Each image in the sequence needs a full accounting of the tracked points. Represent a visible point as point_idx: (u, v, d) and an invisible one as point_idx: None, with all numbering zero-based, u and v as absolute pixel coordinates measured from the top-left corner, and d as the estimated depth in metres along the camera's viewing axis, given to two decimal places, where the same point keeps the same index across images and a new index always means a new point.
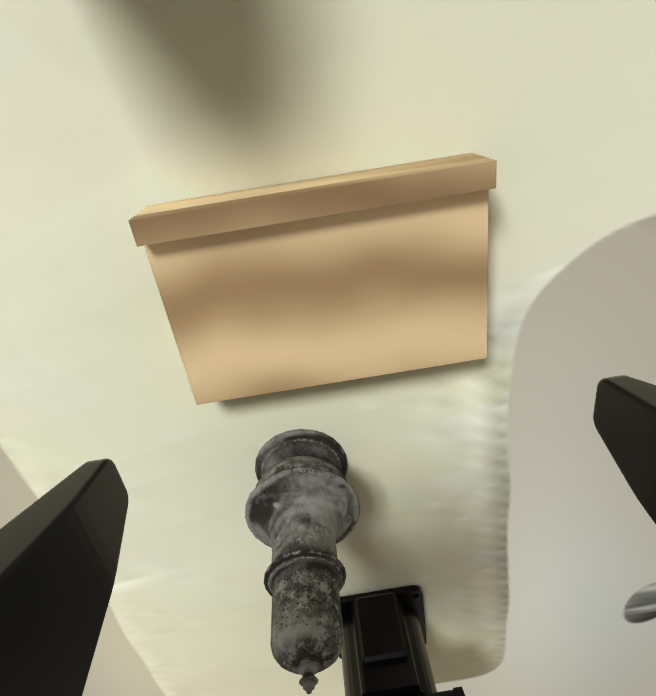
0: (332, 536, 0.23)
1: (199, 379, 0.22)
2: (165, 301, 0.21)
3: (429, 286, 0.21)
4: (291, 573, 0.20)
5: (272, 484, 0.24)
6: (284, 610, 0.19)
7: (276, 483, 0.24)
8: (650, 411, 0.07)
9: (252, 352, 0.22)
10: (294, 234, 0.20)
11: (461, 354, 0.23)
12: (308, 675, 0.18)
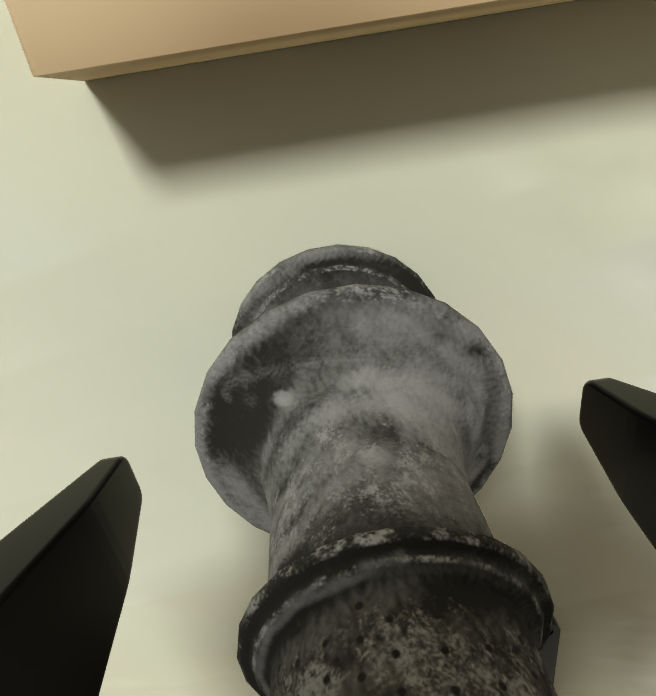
0: (470, 488, 0.07)
1: None
2: None
3: None
4: (355, 635, 0.04)
5: (271, 338, 0.08)
6: None
7: (283, 333, 0.08)
8: (633, 414, 0.07)
9: None
10: None
11: None
12: None
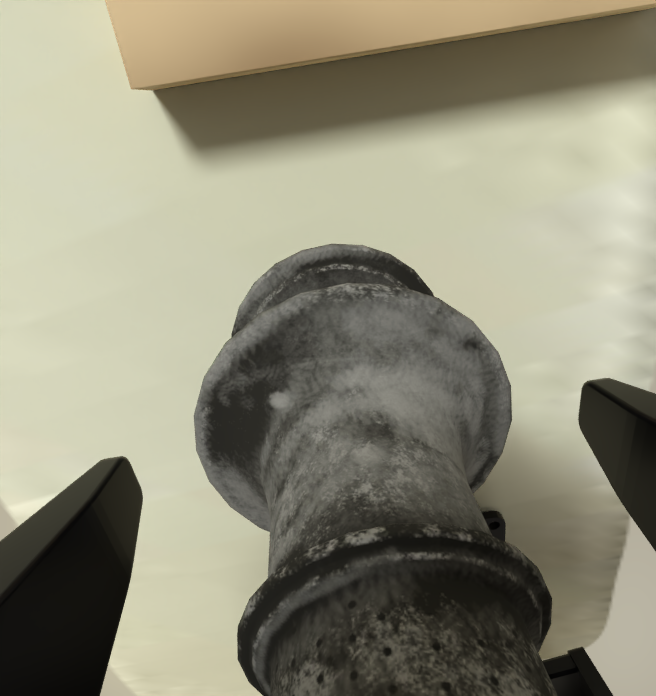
0: (467, 483, 0.07)
1: (133, 20, 0.11)
2: None
3: None
4: (347, 633, 0.04)
5: (265, 341, 0.08)
6: None
7: (277, 335, 0.08)
8: (632, 414, 0.07)
9: None
10: None
11: None
12: None
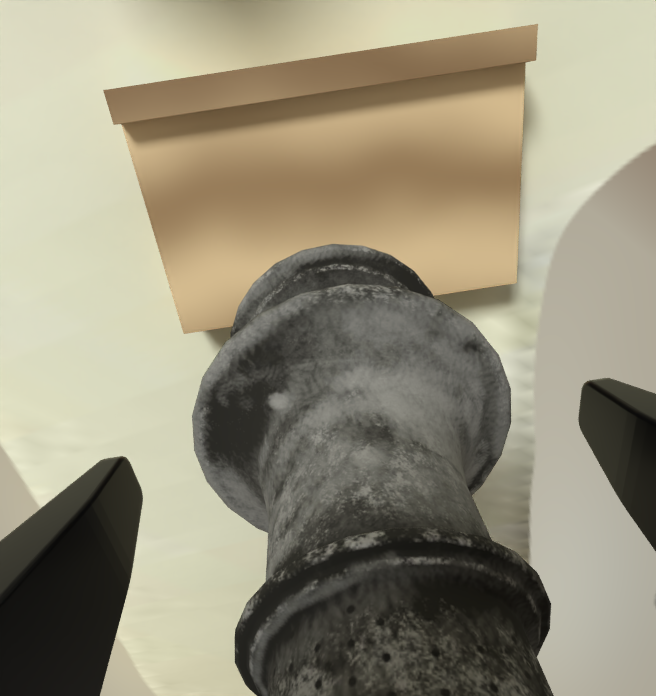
0: (466, 486, 0.07)
1: (187, 302, 0.20)
2: (148, 202, 0.18)
3: (453, 190, 0.18)
4: (346, 638, 0.04)
5: (264, 341, 0.08)
6: None
7: (277, 335, 0.08)
8: (632, 414, 0.07)
9: (248, 269, 0.19)
10: (298, 119, 0.17)
11: (487, 278, 0.20)
12: None
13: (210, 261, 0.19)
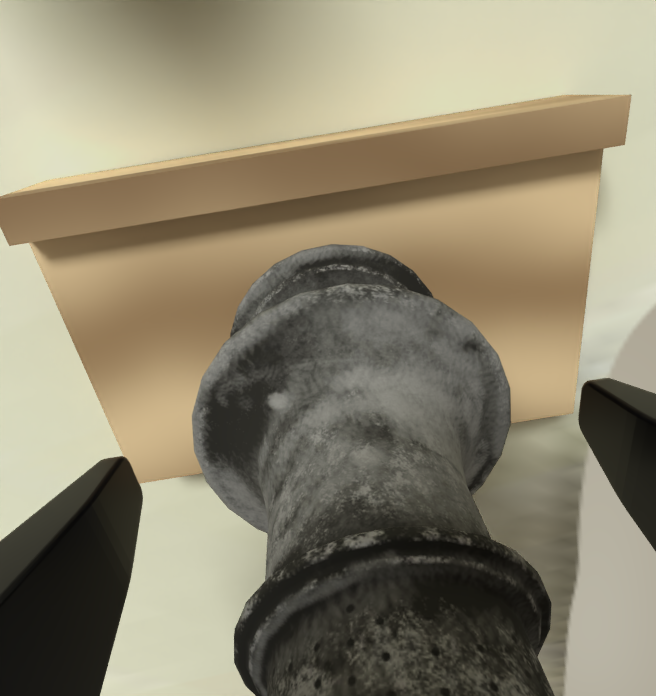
0: (466, 485, 0.07)
1: (137, 448, 0.15)
2: (74, 333, 0.13)
3: (494, 308, 0.13)
4: (346, 638, 0.04)
5: (263, 341, 0.08)
6: None
7: (276, 335, 0.08)
8: (632, 414, 0.07)
9: None
10: (279, 224, 0.12)
11: (536, 408, 0.15)
12: None
13: (165, 401, 0.14)
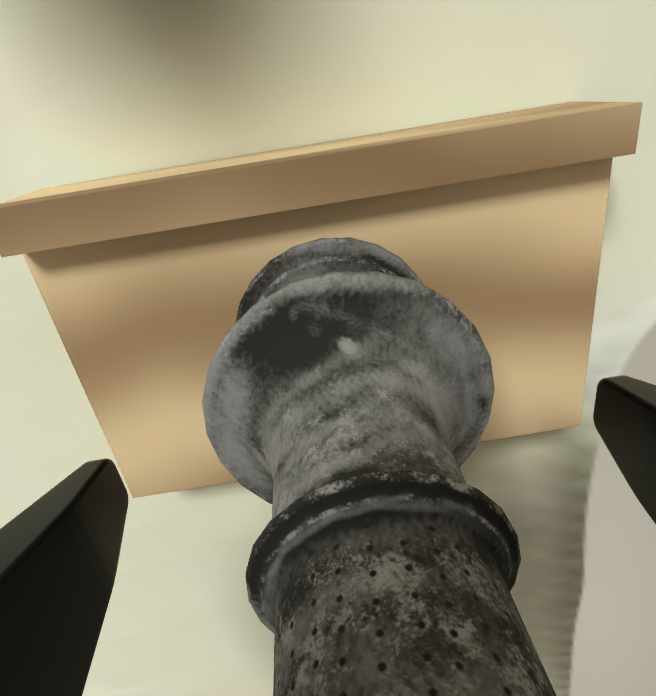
0: None
1: (134, 462, 0.14)
2: (69, 346, 0.13)
3: (500, 319, 0.13)
4: (432, 547, 0.05)
5: (366, 293, 0.08)
6: None
7: (378, 297, 0.09)
8: (650, 411, 0.07)
9: None
10: (279, 234, 0.12)
11: (542, 421, 0.15)
12: None
13: (163, 414, 0.14)
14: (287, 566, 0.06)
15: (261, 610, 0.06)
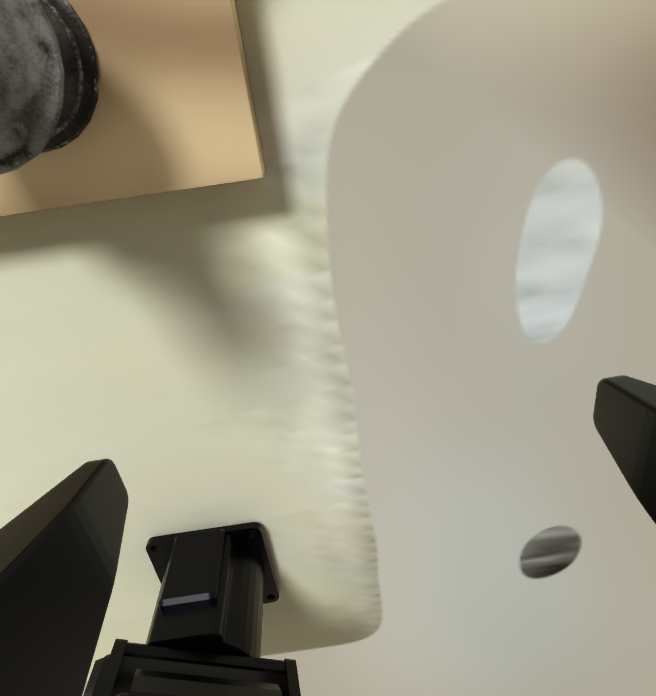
0: None
1: None
2: None
3: (156, 53, 0.15)
4: None
5: None
6: None
7: None
8: (650, 411, 0.07)
9: None
10: None
11: (225, 170, 0.17)
12: None
13: None
14: None
15: None
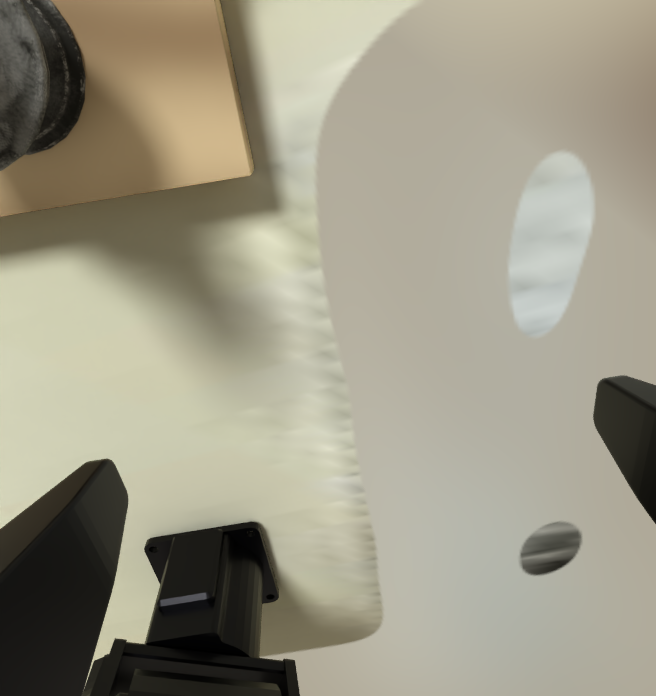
0: None
1: None
2: None
3: (141, 52, 0.15)
4: None
5: None
6: None
7: None
8: (650, 411, 0.07)
9: None
10: None
11: (213, 168, 0.17)
12: None
13: None
14: None
15: None
